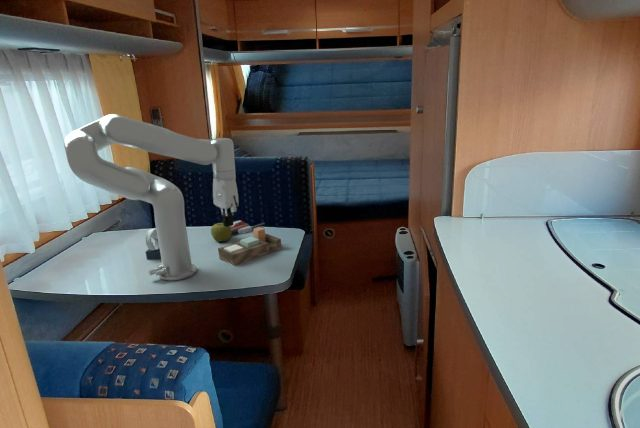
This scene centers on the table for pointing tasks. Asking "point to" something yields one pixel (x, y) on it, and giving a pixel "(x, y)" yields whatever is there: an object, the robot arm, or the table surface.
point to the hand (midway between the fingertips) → (228, 225)
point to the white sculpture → (152, 250)
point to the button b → (249, 241)
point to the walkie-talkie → (242, 227)
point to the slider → (259, 233)
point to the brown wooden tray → (250, 250)
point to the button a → (233, 248)
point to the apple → (220, 232)
